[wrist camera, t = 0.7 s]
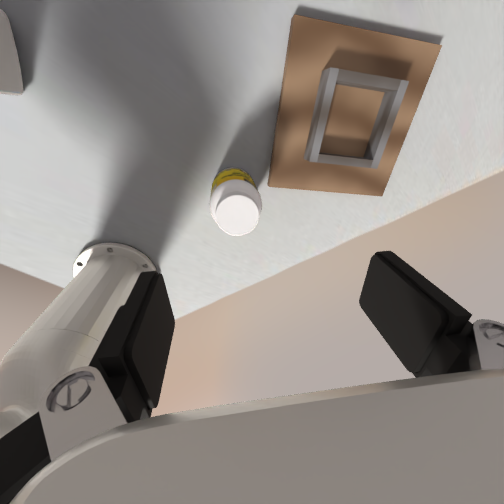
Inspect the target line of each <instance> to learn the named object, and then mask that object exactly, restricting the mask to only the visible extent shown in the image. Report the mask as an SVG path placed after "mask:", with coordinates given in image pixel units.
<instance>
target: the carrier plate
mask: <svg viewBox="0 0 504 504" xmlns="http://www.w3.org/2000/svg"><path fill="white" fill-rule="evenodd" d="M441 47H442V45H438V44H433V43H428V42H424V41H419V40H414V39H409V38H404V37H400V36H395V35H390V34H385V33H381V32H376V31H371V30H366V29H362V28H357V27H352V26H347V25H342V24H338V23H333V22H328V21H323V20H319V19H314V18H309V17H304V16H300V15H294V16H293V17H292V20H291V27H290V33H289V40H288V47H287V54H286V61H285V68H284V75H283V82H282V89H281V95H280V102H279V109H278V116H277V123H276V130H275V137H274V144H273V151H272V157H271V164H270V171H269V178H268V186H269V187H278V188H290V189H302V190H314V191H325V192H337V193H349V194H360V195H372V196H382V195H383V193H384V190H385V188H386V185H387V183H388V180H389V178H390V175H391V173H392V170H393V168H394V165H395V162H396V160H397V157H398V155H399V152H400V150H401V147H402V145H403V142H404V140H405V137H406V135H407V132H408V130H409V127H410V125H411V122H412V120H413V117H414V115H415V112H416V110H417V107H418V105H419V102H420V100H421V97H422V95H423V92H424V89H425V87H426V84H427V82H428V79H429V77H430V74H431V72H432V69H433V67H434V64H435V62H436V59H437V57H438V54H439V52H440V49H441Z"/></svg>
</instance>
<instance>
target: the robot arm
mask: <svg viewBox="0 0 504 504" xmlns="http://www.w3.org/2000/svg"><path fill="white" fill-rule="evenodd" d="M73 276H74V278H73V280H72V281H71V282H70V283H69V284H68V285H67V286H66V287H65V288H64V290H63V291H62V292H61V293H60V294H59V295H58V296H57V297H56V299H55V300H54V301H53V302H52V303H51V304H50V305H49V306H48V307H47V309H46V310H45V311H44V312H43V313H42V314H41V315H40V316H39V317H38V319H37V320H36V321H35V322H34V323H33V324H32V325H31V326H30V327H29V328H28V330H27V331H26V332H25V333H24V334H23V335H22V336H21V337H20V338H19V340H18V341H17V342H16V343H15V344H14V345H13V346H12V348H11V349H10V350H9V351H8V352H7V353H6V355H5V356H4V358H3V360H2V361H1V363H0V504H504V324H502V323H499V322H496V321H492V320H485V319H481V320H477V321H476V322H474V323H473V324H472V323H470V322H469V321H468V320H469V319H470V317H471V316H472V314H471V313H469V312H468V311H467V310H466V309H464V308H463V307H462V306H460V305H459V304H458V303H457V302H455V301H454V300H453V299H451V298H450V297H449V296H448V295H447V294H445V293H444V292H443V291H441V290H440V289H439V288H438V287H436V286H435V285H434V284H432V283H431V282H430V281H429V280H427V279H426V278H425V277H424V276H422V275H421V274H420V273H418V272H417V271H416V270H415V269H413V268H412V267H411V266H410V265H408V264H407V263H406V262H405V261H403V260H402V259H401V258H399V257H398V256H397V255H396V254H394V253H393V252H391V251H382V252H376V253H375V255H373V256H372V258H371V260H370V264H369V267H368V271H367V275H366V278H365V281H364V285H363V289H362V292H361V296H360V300H359V303H360V306H361V308H362V309H363V311H364V312H365V313H366V315H367V316H368V317H369V319H370V320H371V322H372V323H373V324H374V326H375V327H376V328H377V330H378V331H379V332H380V334H381V335H382V336H383V338H384V339H385V340H386V342H387V343H388V344H389V346H390V347H391V349H392V350H393V351H394V353H395V354H396V355H397V357H398V358H399V359H400V361H401V362H402V364H403V365H404V366H405V368H406V369H407V370H408V371H409V372H412V373H413V374H414V376H415V377H416V378H411V379H404V380H396V381H389V382H382V383H374V384H367V385H359V386H352V387H345V388H338V389H331V390H324V391H316V392H309V393H303V394H295V395H288V396H282V397H275V398H268V399H261V400H254V401H247V402H240V403H233V404H227V405H220V406H213V407H207V408H201V409H195V410H189V411H182V412H177V413H170V414H165V415H160V416H155V417H151V412H152V408H156V407H157V405H158V402H159V397H160V393H161V387H162V383H163V379H164V374H165V369H166V365H167V360H168V355H169V350H170V346H171V341H172V336H173V332H174V327H175V320H174V316H173V312H172V309H171V305H170V301H169V298H168V294H167V290H166V286H165V283H164V279H163V276H162V274H158V273H157V271H156V268H155V266H154V265H153V263H152V262H151V261H150V259H149V258H148V257H147V256H145V255H144V254H143V253H142V252H140V251H138V250H136V249H135V248H132V247H130V246H127V245H123V244H119V243H100V244H96V245H93V246H91V247H89V248H87V249H85V250H84V251H83V252H82V253H81V254H80V255H79V256H78V257H77V258H76V260H75V262H74V266H73ZM150 417H151V418H150Z"/></svg>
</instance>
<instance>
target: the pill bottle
mask: <svg viewBox="0 0 504 504" xmlns="http://www.w3.org/2000/svg"><path fill="white" fill-rule="evenodd" d="M261 210H262V201H261V197H260V194H259V192H258V190H257V188H256V186H255V184H254V181H253V179H252V178H251V176H250V175H249V174H248V173H247V172H245V171H244V170H242V169H239V168H227V169H224V170H222V171H221V172H220V173H218V174H217V176H216V177H215V179H214V181H213V184H212V190H211V197H210V212H211V215H212V217H213V219H214V220H215V222H216V223H217V224H218V226H219V227H220V228H221V230H223V231H224V232H225V233H227V234H229V235H233V236H241V235H245V234H247V233H249V232H251V231H252V230H253V229H254V228H255V227H256V225H257V223H258V221H259V216H260V214H261Z"/></svg>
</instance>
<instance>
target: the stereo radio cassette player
mask: <svg viewBox="0 0 504 504" xmlns="http://www.w3.org/2000/svg"><path fill="white" fill-rule="evenodd" d="M22 93H23V82H22V75H21V68H20V63H19V58H18V54H17V49H16V45H15V41H14V37H13V33H12V29H11V25H10V21H9V19H8V17H7V15H6V13H5V12H4V11H3V10H1V9H0V94H8V95H22Z"/></svg>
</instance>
